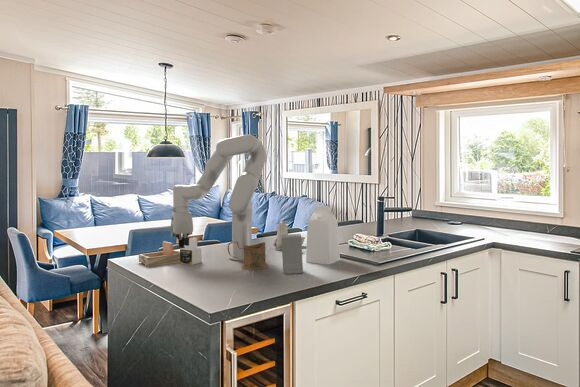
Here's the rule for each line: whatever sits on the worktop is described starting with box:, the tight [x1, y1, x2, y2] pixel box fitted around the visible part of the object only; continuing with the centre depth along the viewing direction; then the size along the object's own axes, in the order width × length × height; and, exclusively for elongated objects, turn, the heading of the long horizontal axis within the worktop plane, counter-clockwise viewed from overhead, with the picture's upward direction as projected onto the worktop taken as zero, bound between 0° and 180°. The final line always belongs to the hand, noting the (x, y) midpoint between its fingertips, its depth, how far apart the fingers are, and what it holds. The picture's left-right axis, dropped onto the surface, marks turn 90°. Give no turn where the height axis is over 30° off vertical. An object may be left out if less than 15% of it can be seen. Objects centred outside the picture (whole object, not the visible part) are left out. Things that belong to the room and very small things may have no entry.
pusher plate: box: [162, 240, 174, 255], centre depth 214 cm, size 9×1×8 cm, turn 39°
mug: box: [227, 241, 269, 271], centre depth 197 cm, size 12×18×12 cm, turn 111°
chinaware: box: [272, 218, 306, 251], centre depth 244 cm, size 28×17×17 cm, turn 171°
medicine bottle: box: [179, 236, 203, 266], centre depth 209 cm, size 7×7×12 cm
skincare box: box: [281, 233, 304, 275], centre depth 185 cm, size 8×7×16 cm
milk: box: [305, 204, 341, 265], centre depth 208 cm, size 12×12×26 cm
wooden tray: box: [138, 249, 180, 267], centre depth 213 cm, size 12×18×4 cm, turn 129°
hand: (182, 247), depth 219 cm, fingers closed
